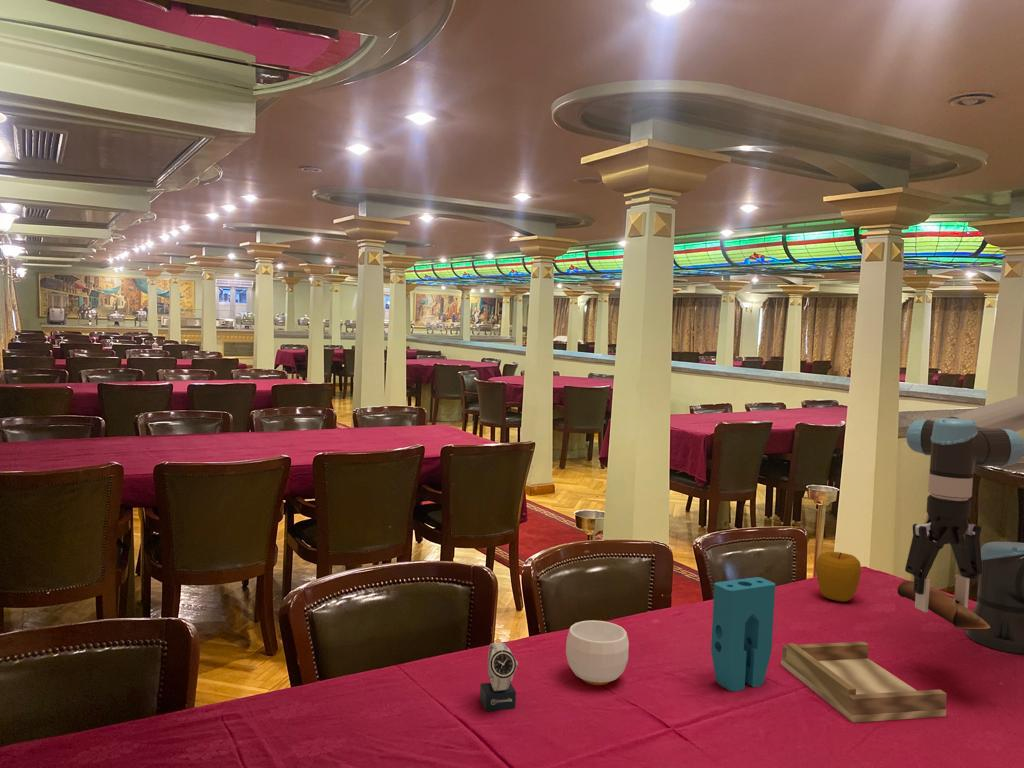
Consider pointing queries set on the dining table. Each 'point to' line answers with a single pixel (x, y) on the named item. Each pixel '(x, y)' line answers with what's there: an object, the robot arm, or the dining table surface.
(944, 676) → the dining table surface
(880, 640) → the dining table surface
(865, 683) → the rail board
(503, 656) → the watch
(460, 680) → the dining table surface
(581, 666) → the cup
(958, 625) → the sunglasses case
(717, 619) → the block
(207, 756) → the dining table surface
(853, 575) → the apple
